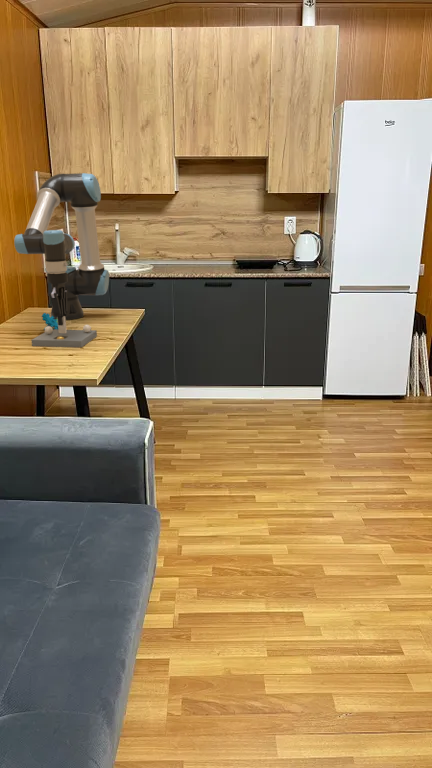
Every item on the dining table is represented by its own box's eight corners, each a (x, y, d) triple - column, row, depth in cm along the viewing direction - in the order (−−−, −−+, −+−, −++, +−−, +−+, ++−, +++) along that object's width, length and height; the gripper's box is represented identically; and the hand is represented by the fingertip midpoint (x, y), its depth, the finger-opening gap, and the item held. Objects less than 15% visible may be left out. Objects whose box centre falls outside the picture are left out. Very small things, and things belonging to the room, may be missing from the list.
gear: (55, 329, 236) (39, 312, 236) (47, 339, 238) (30, 322, 238) (67, 327, 247) (52, 311, 247) (58, 336, 248) (43, 320, 248)
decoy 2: (84, 331, 229) (84, 323, 228) (92, 331, 229) (91, 324, 228) (82, 333, 226) (81, 325, 225) (89, 333, 226) (89, 325, 225)
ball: (57, 345, 220) (58, 338, 222) (65, 345, 220) (66, 338, 221) (54, 341, 217) (55, 334, 219) (62, 341, 217) (63, 334, 218)
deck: (50, 335, 234) (50, 329, 233) (96, 336, 232) (96, 330, 231) (32, 346, 217) (31, 339, 216) (81, 347, 215) (81, 341, 214)
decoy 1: (47, 332, 227) (46, 325, 226) (54, 333, 227) (53, 325, 226) (43, 334, 224) (42, 326, 223) (51, 335, 224) (50, 327, 223)
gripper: (59, 274, 207) (65, 336, 215) (72, 270, 220) (77, 329, 227) (40, 274, 208) (46, 336, 216) (54, 270, 220) (60, 328, 228)
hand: (62, 332), depth 221 cm, fingers closed
